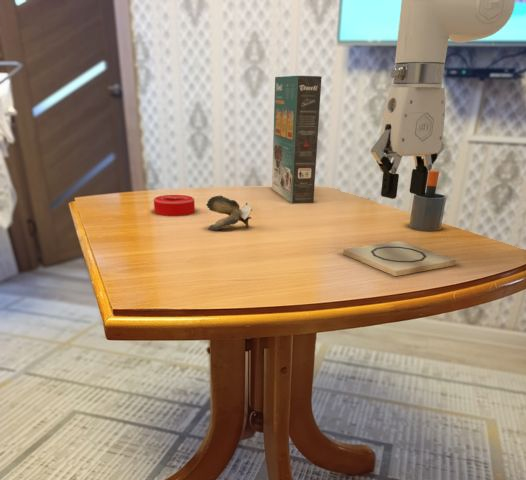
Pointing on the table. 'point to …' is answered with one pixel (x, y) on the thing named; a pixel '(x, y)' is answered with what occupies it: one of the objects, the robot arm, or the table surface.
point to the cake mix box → (295, 136)
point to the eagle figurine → (228, 212)
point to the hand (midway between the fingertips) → (403, 194)
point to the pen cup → (427, 212)
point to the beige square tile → (399, 258)
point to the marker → (432, 184)
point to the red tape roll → (174, 205)
